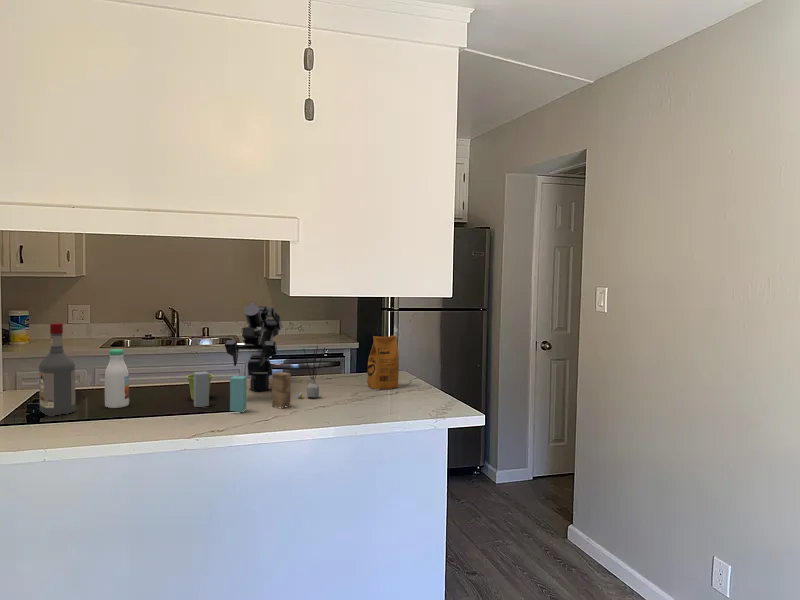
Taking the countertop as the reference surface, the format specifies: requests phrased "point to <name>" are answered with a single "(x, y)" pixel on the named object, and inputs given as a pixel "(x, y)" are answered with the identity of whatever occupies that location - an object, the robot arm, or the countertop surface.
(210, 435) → the countertop surface
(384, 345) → the coffee package
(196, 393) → the slate block
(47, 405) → the liquor
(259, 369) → the robot arm
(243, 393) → the teal block
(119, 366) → the milk bottle
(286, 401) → the walnut block
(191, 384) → the plant pot
